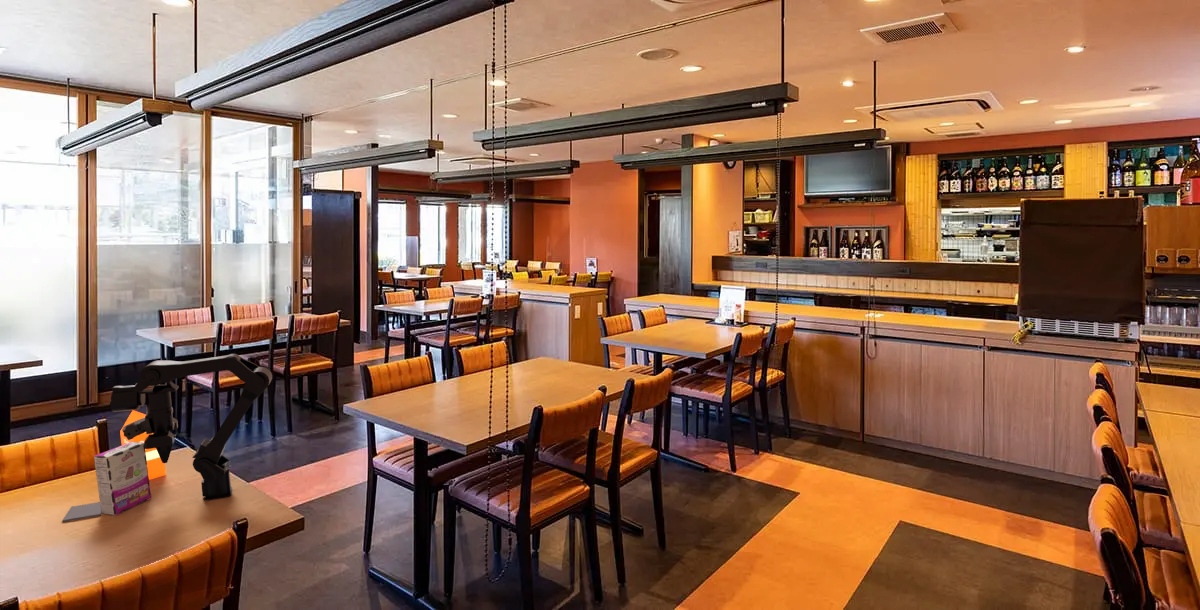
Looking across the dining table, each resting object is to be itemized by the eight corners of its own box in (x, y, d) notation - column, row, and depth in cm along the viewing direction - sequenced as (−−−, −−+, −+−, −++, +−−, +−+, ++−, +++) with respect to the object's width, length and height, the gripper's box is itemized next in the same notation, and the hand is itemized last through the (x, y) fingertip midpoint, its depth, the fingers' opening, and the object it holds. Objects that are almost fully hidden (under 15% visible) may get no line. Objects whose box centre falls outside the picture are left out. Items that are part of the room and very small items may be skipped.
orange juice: (138, 483, 196) (130, 418, 193) (124, 477, 200) (117, 413, 198) (166, 474, 202) (160, 411, 199) (153, 468, 207) (146, 406, 204)
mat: (107, 502, 183) (107, 500, 182) (100, 515, 175) (100, 513, 175) (71, 508, 179) (71, 506, 179) (62, 522, 171) (62, 520, 171)
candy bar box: (137, 497, 186) (131, 441, 184) (152, 498, 185) (146, 442, 183) (99, 514, 175) (92, 455, 173) (114, 516, 174) (107, 456, 172)
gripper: (128, 403, 184) (134, 457, 186) (117, 421, 168) (124, 480, 170) (175, 397, 189) (180, 450, 191) (169, 415, 173) (175, 472, 175)
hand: (164, 462), depth 182 cm, fingers closed
